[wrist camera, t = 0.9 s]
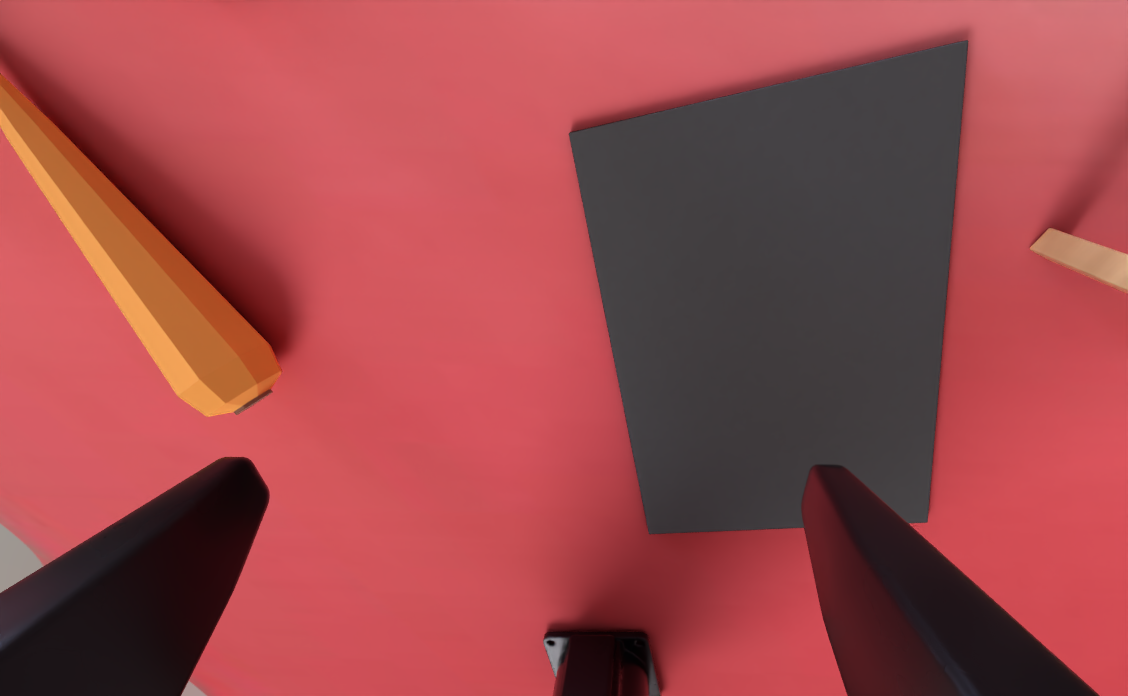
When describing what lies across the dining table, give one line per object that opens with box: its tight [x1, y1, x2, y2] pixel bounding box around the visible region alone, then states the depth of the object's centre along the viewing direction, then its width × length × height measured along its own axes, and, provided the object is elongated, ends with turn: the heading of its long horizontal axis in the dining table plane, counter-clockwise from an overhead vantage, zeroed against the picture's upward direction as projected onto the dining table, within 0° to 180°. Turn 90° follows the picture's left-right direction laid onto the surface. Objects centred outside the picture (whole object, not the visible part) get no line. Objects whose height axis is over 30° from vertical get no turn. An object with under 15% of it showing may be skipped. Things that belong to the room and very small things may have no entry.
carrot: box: [0, 74, 282, 417], centre depth 23 cm, size 20×4×4 cm, turn 35°
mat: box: [569, 40, 968, 534], centre depth 22 cm, size 20×13×1 cm, turn 13°
